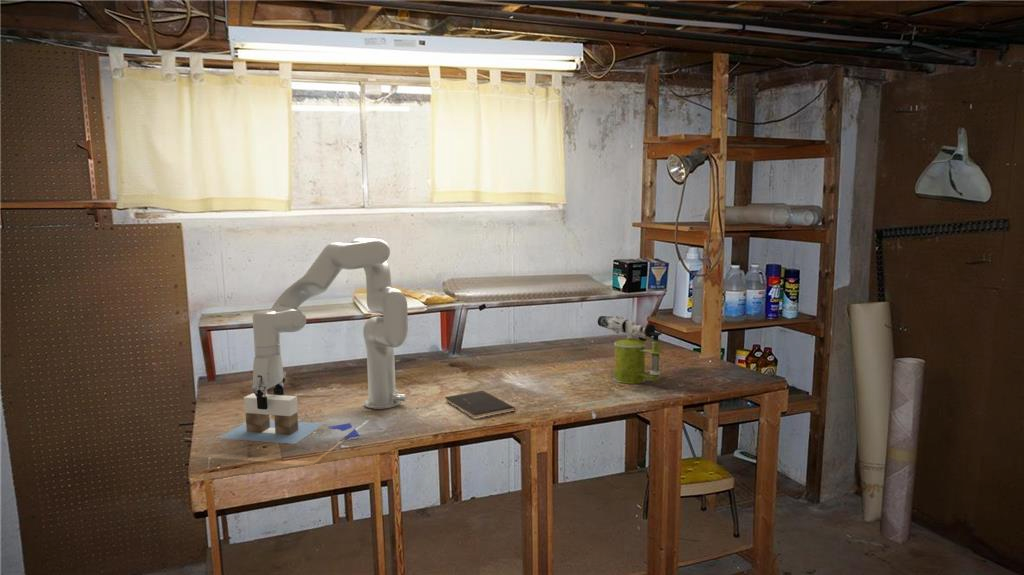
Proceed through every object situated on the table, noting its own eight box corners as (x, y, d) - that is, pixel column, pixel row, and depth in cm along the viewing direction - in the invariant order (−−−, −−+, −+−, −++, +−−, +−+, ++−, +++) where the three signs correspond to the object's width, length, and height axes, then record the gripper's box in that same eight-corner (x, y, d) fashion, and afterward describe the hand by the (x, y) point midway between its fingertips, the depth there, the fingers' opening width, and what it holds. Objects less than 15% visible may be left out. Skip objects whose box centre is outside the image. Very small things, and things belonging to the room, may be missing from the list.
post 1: (270, 427, 217) (268, 409, 216) (261, 432, 212) (259, 414, 212) (256, 426, 218) (254, 408, 218) (246, 431, 214) (245, 413, 213)
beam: (298, 411, 214) (297, 396, 213) (290, 416, 210) (289, 400, 209) (253, 408, 218) (252, 393, 217) (244, 412, 213) (243, 397, 213)
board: (324, 426, 220) (324, 423, 220) (295, 447, 203) (294, 443, 203) (252, 421, 226) (252, 418, 226) (218, 441, 209) (218, 437, 208)
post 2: (298, 429, 215) (297, 411, 214) (289, 435, 210) (288, 416, 209) (284, 428, 216) (283, 410, 215) (275, 433, 211) (274, 415, 211)
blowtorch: (649, 391, 254) (650, 326, 251) (589, 373, 281) (589, 314, 277) (672, 385, 262) (673, 322, 259) (612, 368, 288) (612, 310, 285)
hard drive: (325, 426, 217) (333, 439, 206) (351, 422, 221) (360, 435, 210) (326, 431, 218) (333, 444, 207) (351, 427, 221) (360, 439, 210)
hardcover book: (473, 421, 226) (473, 414, 226) (445, 403, 246) (445, 397, 245) (515, 412, 234) (515, 406, 233) (484, 396, 253) (484, 390, 253)
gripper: (272, 343, 220) (275, 395, 222) (239, 356, 203) (243, 412, 206) (293, 344, 218) (296, 396, 221) (262, 357, 202) (266, 413, 204)
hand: (271, 404), depth 213 cm, fingers open, 8 cm apart
